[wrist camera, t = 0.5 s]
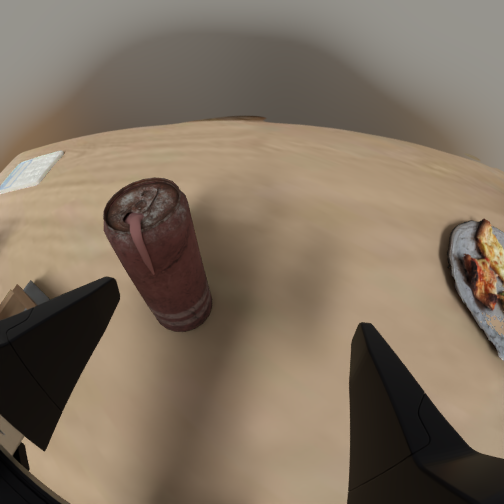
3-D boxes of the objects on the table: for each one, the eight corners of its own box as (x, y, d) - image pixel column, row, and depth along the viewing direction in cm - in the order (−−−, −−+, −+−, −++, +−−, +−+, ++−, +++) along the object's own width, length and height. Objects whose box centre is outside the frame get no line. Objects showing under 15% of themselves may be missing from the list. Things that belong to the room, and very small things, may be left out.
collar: (33, 426, 17) (9, 419, 14) (-13, 357, 20) (-32, 344, 17) (89, 334, 25) (70, 316, 22) (34, 284, 28) (19, 266, 25)
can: (163, 343, 24) (96, 251, 14) (151, 291, 28) (100, 189, 17) (221, 325, 26) (195, 219, 15) (203, 275, 30) (177, 165, 19)
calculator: (39, 186, 45) (35, 180, 44) (-3, 196, 46) (-6, 191, 44) (66, 154, 54) (63, 148, 52) (21, 166, 54) (19, 161, 53)
